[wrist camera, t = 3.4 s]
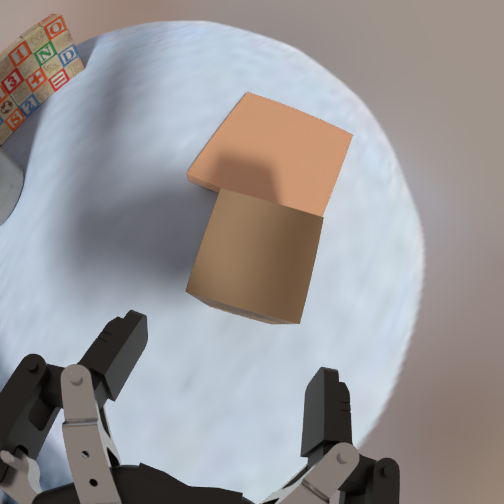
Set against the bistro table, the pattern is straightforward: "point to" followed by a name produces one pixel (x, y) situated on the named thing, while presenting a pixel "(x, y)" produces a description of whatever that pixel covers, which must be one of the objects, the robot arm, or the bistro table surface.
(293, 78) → the bistro table surface
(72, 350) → the bistro table surface
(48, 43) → the stack of blocks
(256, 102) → the terracotta tile
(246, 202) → the walnut block
